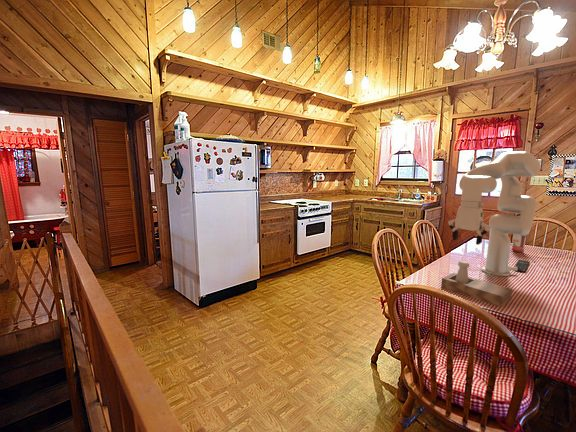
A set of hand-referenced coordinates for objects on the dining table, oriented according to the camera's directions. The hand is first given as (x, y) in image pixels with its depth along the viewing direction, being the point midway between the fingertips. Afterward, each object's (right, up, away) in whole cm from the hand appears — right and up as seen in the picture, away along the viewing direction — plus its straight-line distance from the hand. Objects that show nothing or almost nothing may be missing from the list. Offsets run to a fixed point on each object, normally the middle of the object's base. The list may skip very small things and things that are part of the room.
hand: (466, 241), depth 132 cm
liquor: (+73, -13, +62) cm, 97 cm away
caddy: (+3, -23, -1) cm, 23 cm away
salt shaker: (-1, -22, +3) cm, 23 cm away
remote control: (+52, -18, +34) cm, 65 cm away
